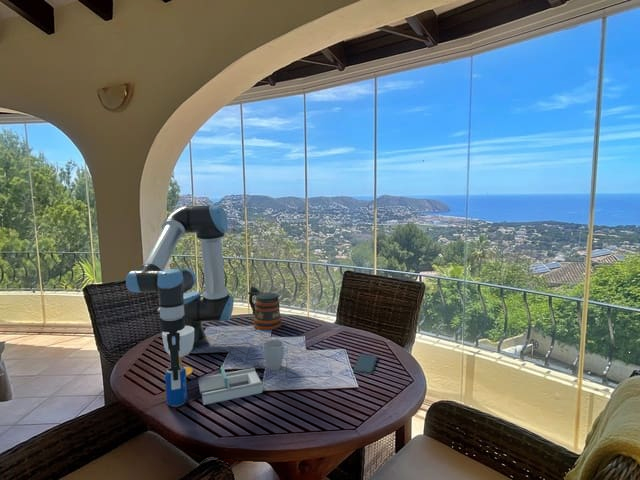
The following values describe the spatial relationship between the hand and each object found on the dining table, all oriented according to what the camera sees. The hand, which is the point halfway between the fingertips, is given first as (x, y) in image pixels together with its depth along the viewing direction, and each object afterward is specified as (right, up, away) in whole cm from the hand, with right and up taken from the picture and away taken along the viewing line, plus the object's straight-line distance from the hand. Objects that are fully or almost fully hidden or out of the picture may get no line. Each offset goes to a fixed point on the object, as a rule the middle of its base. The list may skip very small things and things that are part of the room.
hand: (175, 379), depth 126 cm
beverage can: (0, -9, +2) cm, 9 cm away
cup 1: (-7, -6, +22) cm, 24 cm away
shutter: (+11, -4, +6) cm, 13 cm away
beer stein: (+18, +1, +74) cm, 77 cm away
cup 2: (+30, -5, +26) cm, 40 cm away
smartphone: (+67, -5, +29) cm, 73 cm away
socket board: (+16, -7, +9) cm, 20 cm away
